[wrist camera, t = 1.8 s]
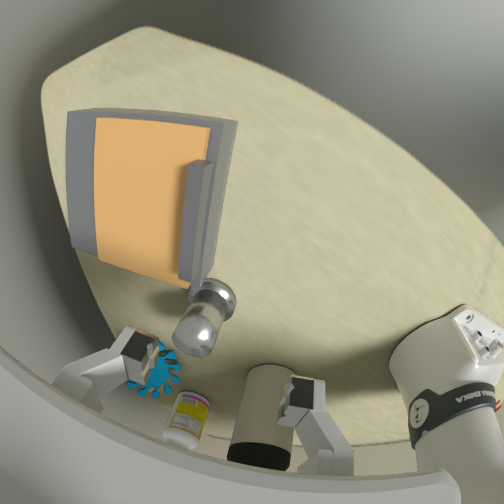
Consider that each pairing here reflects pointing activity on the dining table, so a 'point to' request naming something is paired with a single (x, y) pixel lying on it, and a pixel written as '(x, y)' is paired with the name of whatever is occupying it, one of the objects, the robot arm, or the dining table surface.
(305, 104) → the dining table surface
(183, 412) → the supplement bottle
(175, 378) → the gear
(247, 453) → the travel mug
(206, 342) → the silver rounded cylinder
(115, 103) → the dining table surface
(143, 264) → the lid
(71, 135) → the housing
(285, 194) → the dining table surface
